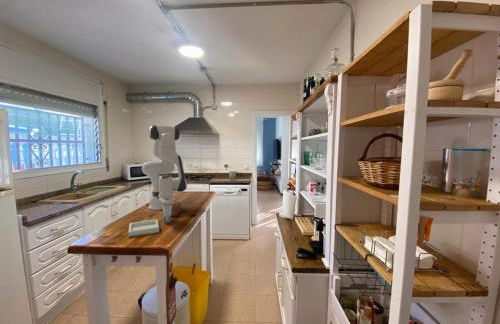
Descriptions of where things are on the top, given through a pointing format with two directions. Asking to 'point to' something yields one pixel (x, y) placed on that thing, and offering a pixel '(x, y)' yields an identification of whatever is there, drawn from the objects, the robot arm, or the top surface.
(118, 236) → the top surface
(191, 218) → the top surface
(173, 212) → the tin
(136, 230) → the dish
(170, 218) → the matte grey cube
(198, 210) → the top surface
